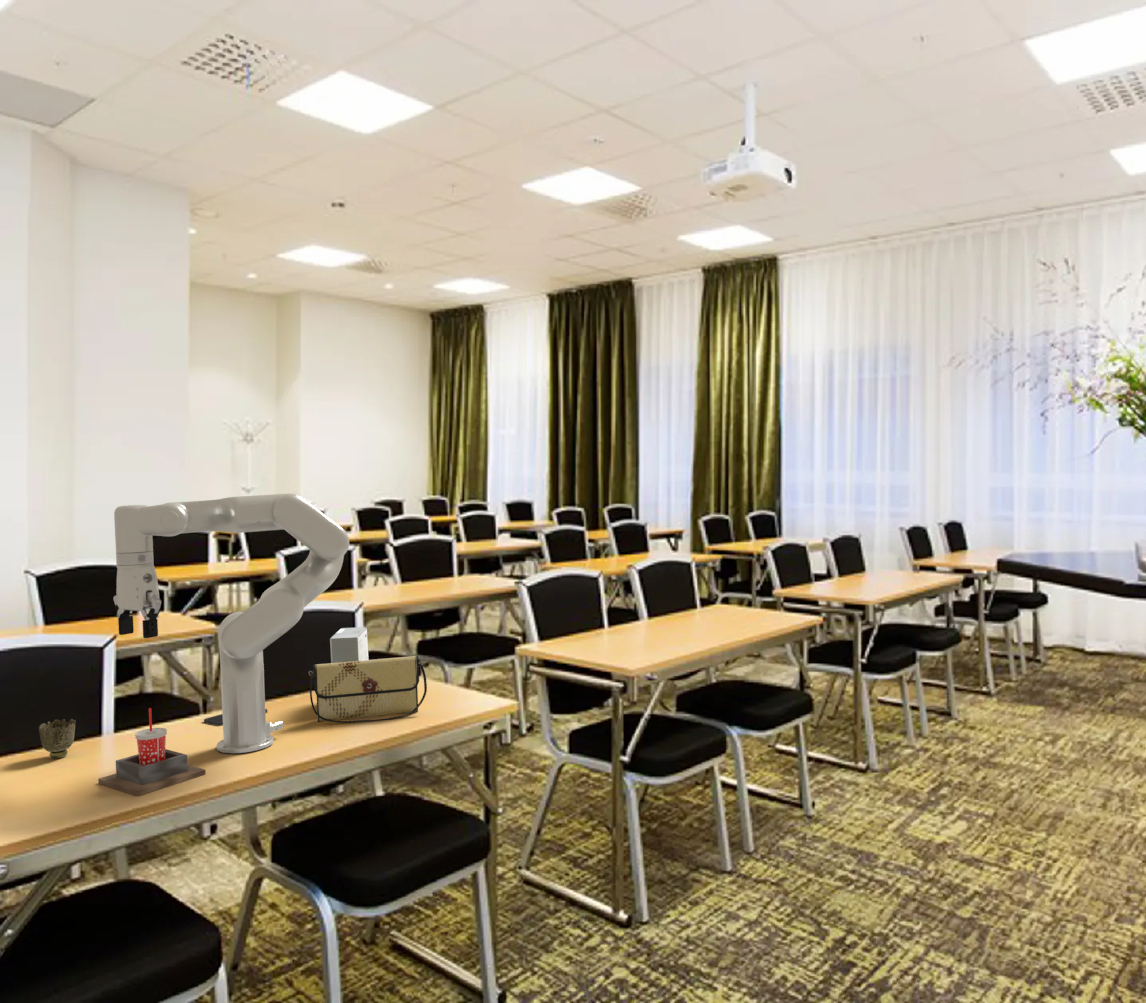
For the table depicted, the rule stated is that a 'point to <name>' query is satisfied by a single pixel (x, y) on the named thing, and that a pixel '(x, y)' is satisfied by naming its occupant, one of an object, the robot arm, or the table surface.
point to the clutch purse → (367, 688)
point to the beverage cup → (151, 744)
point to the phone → (217, 720)
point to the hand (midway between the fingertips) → (138, 635)
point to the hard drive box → (349, 645)
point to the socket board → (150, 773)
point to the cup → (57, 737)
